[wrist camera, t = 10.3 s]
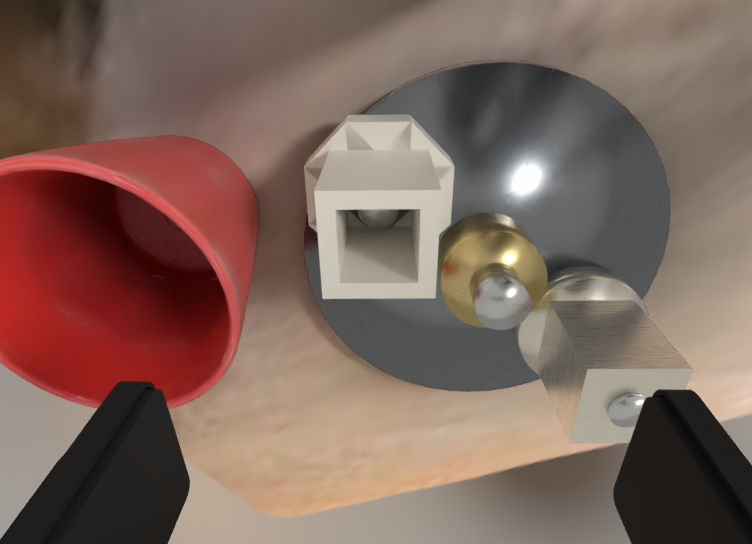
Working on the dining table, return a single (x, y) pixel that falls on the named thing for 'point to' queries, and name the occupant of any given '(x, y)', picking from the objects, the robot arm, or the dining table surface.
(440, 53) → the dining table surface
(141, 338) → the flower pot
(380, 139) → the open ended square duct
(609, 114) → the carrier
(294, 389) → the dining table surface
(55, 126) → the dining table surface
